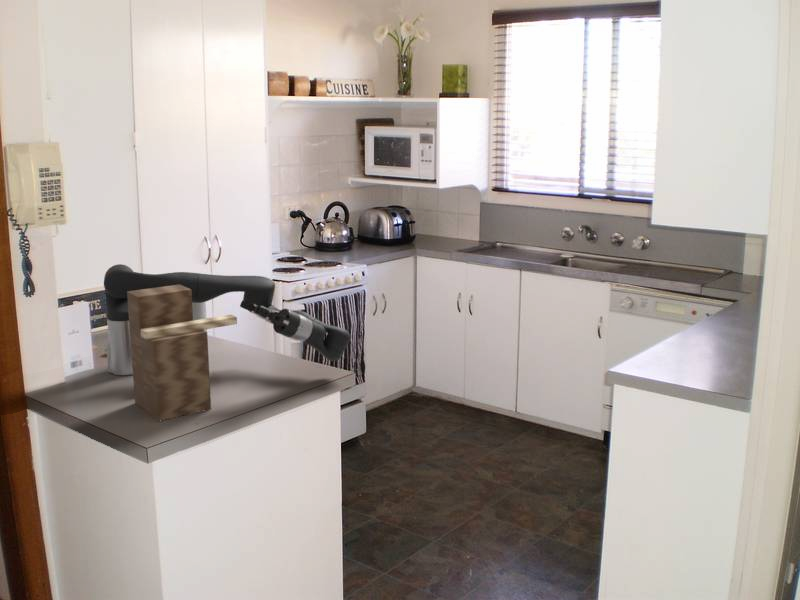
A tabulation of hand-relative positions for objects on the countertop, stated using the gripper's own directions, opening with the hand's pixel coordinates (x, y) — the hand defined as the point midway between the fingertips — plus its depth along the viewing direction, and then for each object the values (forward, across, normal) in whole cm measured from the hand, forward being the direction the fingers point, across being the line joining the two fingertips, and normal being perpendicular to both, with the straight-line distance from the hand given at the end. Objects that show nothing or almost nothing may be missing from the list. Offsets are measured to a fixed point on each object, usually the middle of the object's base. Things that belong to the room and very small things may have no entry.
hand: (248, 306), depth 240 cm
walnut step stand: (+6, -4, +34) cm, 34 cm away
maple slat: (+13, 0, +12) cm, 18 cm away
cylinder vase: (-14, -48, +22) cm, 55 cm away
